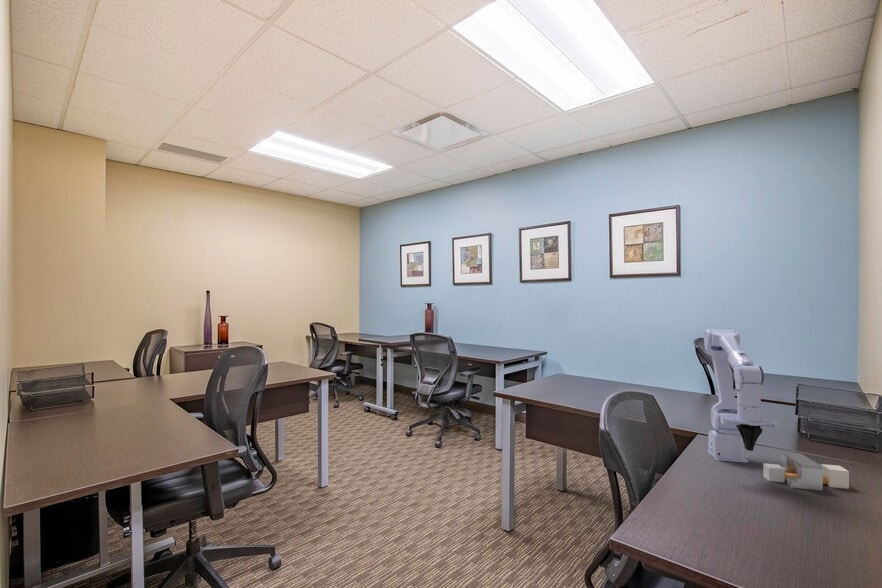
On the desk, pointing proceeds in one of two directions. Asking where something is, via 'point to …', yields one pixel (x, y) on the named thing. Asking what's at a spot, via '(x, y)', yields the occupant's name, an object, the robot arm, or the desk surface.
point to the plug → (831, 475)
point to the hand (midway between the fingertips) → (748, 449)
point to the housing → (802, 471)
